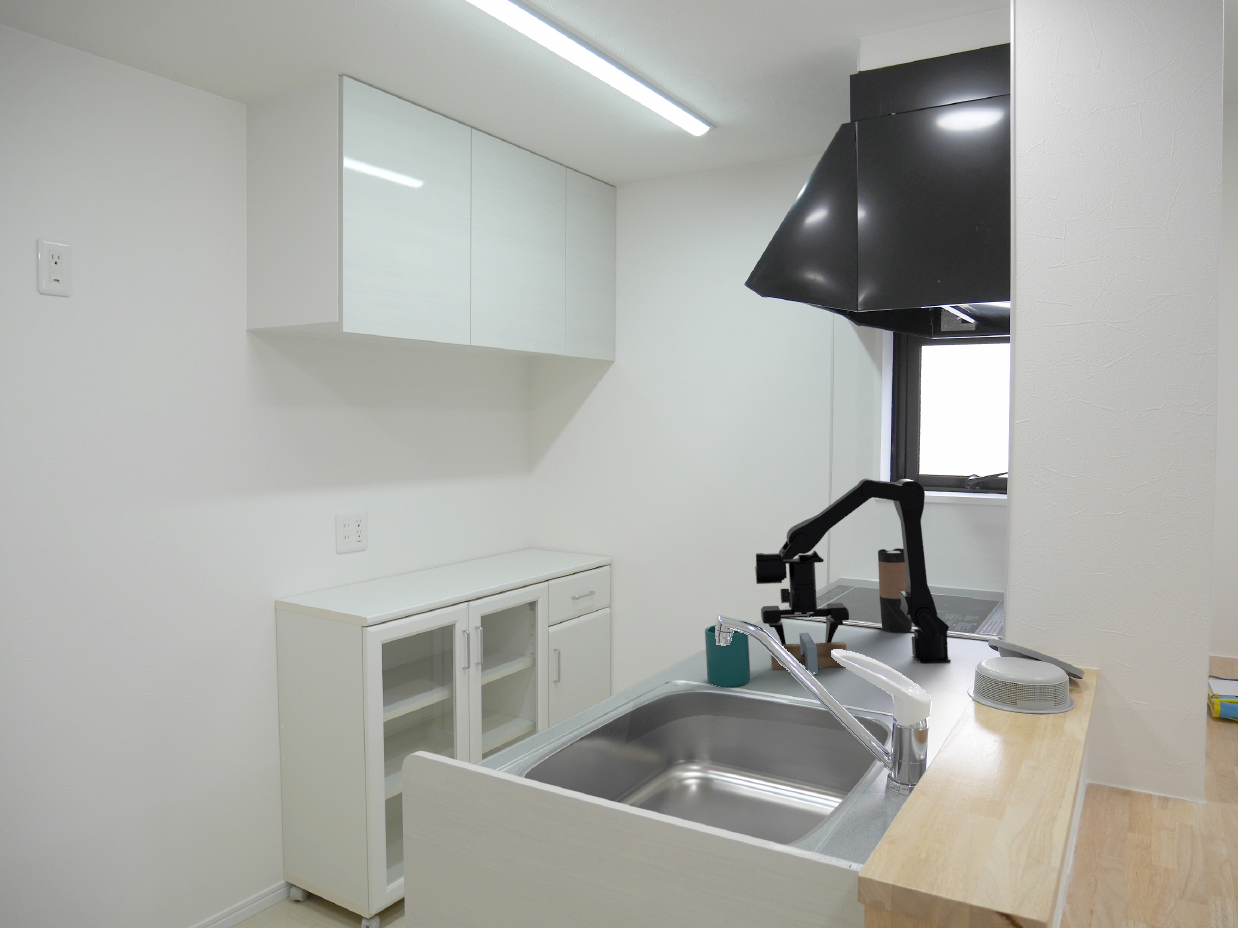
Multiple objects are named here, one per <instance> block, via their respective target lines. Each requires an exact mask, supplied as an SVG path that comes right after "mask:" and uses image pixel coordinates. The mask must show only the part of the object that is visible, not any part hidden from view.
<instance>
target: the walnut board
mask: <svg viewBox="0 0 1238 928" xmlns="http://www.w3.org/2000/svg"><path fill="white" fill-rule="evenodd" d="M814 643H815V645H816V647H817V663H818V667H825V668H824V669H828V668H829V669H830V668H831V669H834V668H837V669H838V668H844V667H843V666H841V665H840V664H839V663H837V661H835V660H834V659H833V658H832V657H831V650H833V649H843V650H846V651H847V643H846V642H845V641H840V642H839V641H836V642H833V641H832V642H830V643H825V642H814ZM780 644H781V643H780ZM781 645H782V646H784V648H785V649H787V651H788V652H790V653H791V654H792V655H793V656H794V657H795V658H796V659H797V660H798V661H799V663H801V664H802V665H804V666H805V655H801V647H800V643H787V644H781ZM770 658H771V659H770V661H771V669H772V671H773V670H786V669H785V668H784V667H783V666H781V665H780V664H779V663H778V661H777V660H776V659H775V658H774V657H773V656H772V655H771V654H770Z"/></svg>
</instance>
